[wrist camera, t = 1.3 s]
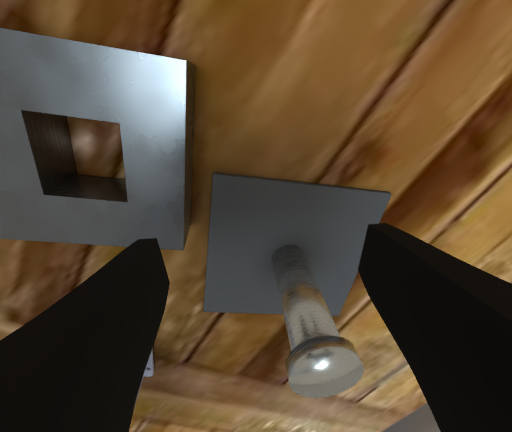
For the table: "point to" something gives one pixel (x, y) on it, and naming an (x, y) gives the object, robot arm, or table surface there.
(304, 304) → the pin
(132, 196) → the square hole block
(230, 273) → the mat
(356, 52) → the table surface
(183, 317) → the table surface
